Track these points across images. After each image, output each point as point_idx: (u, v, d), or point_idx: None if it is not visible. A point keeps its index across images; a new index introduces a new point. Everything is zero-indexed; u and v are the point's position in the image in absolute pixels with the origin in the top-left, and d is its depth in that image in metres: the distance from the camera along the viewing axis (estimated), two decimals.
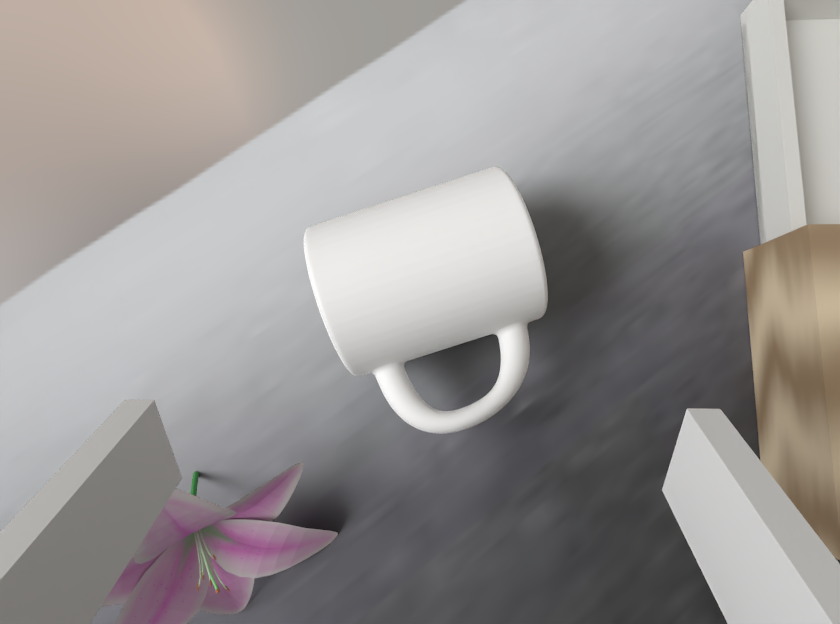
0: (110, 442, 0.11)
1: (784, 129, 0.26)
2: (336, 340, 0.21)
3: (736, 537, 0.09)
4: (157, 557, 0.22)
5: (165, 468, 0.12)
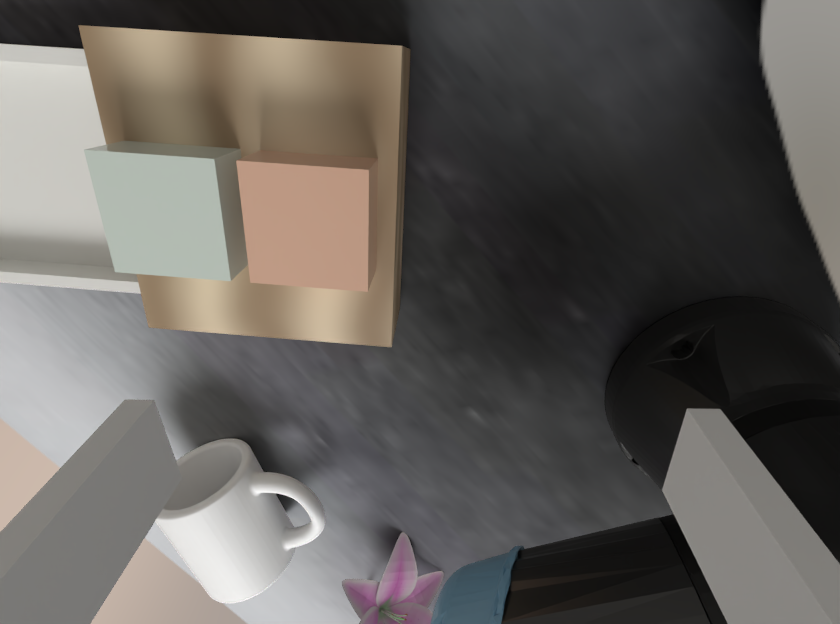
0: (110, 442, 0.11)
1: (74, 285, 0.31)
2: (263, 589, 0.37)
3: (736, 537, 0.09)
4: None
5: (166, 469, 0.12)
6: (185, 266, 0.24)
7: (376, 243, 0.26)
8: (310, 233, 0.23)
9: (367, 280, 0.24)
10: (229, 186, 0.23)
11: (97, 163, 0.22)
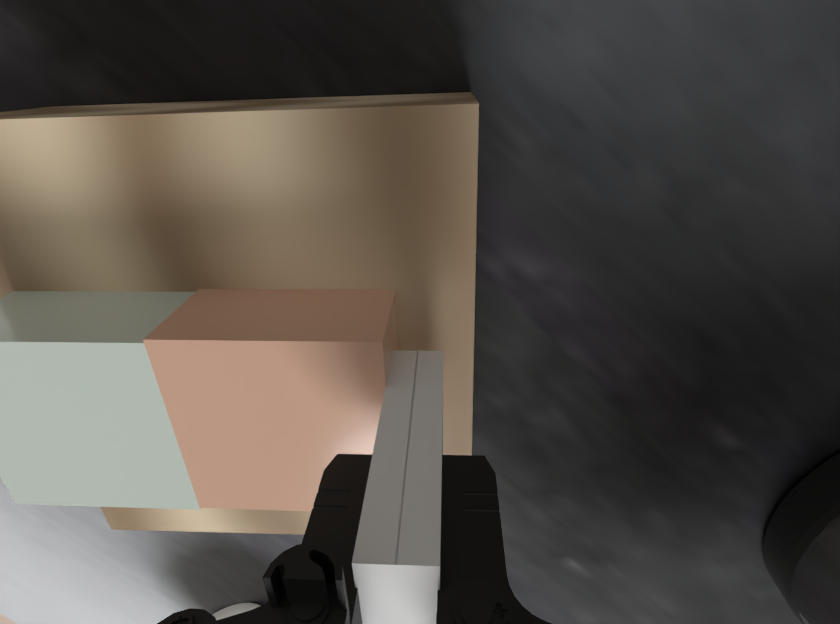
0: (409, 381, 0.12)
1: None
2: None
3: None
4: None
5: None
6: (124, 493, 0.15)
7: None
8: (288, 438, 0.13)
9: None
10: None
11: None
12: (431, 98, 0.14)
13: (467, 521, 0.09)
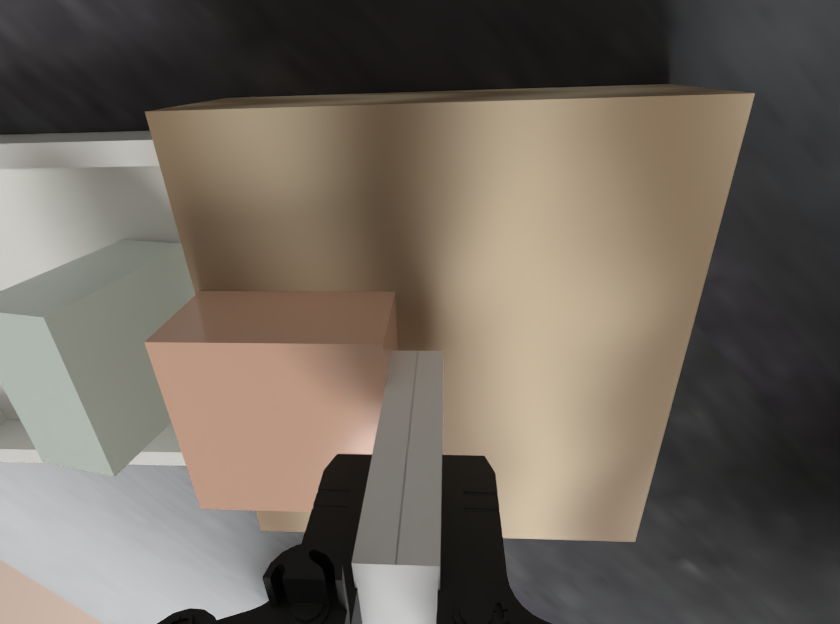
0: (409, 381, 0.12)
1: (143, 461, 0.22)
2: None
3: None
4: None
5: None
6: None
7: None
8: (289, 440, 0.13)
9: None
10: (15, 356, 0.14)
11: None
12: (661, 89, 0.13)
13: (467, 521, 0.09)
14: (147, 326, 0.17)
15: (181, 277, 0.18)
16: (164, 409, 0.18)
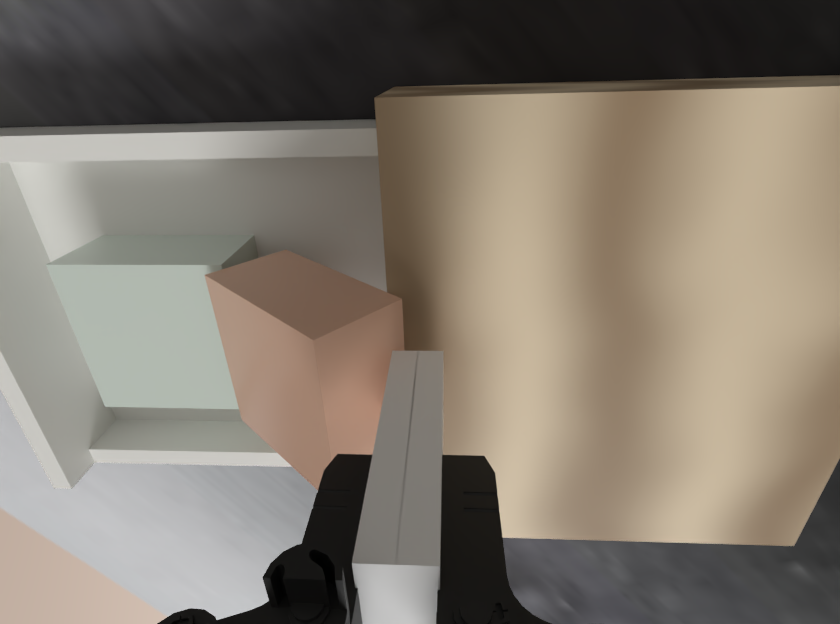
0: (409, 381, 0.12)
1: (268, 463, 0.21)
2: None
3: None
4: None
5: None
6: None
7: None
8: (274, 395, 0.15)
9: None
10: None
11: None
12: None
13: (467, 522, 0.09)
14: (153, 318, 0.17)
15: (205, 293, 0.16)
16: (165, 393, 0.18)
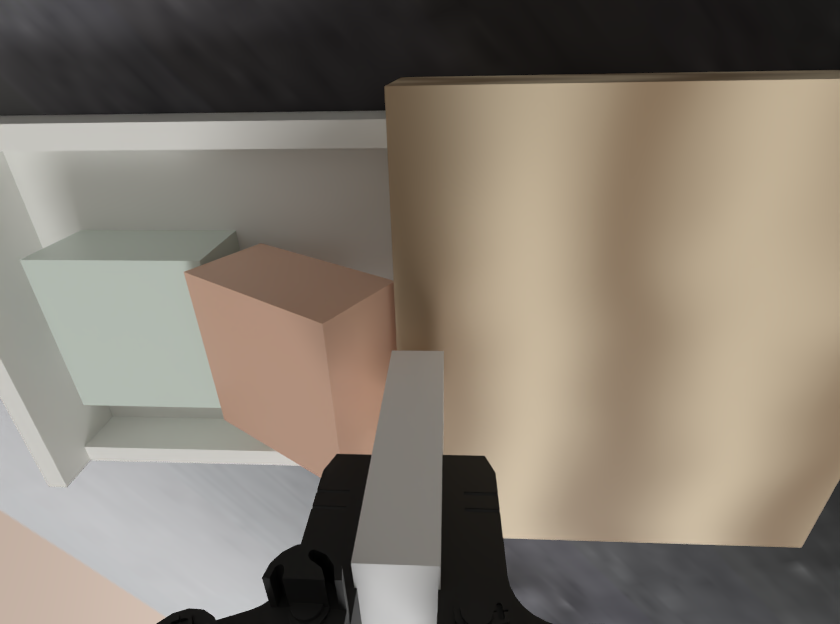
0: (408, 381, 0.12)
1: (268, 461, 0.21)
2: None
3: None
4: None
5: None
6: None
7: None
8: (269, 387, 0.15)
9: None
10: None
11: None
12: None
13: (467, 521, 0.09)
14: (131, 315, 0.16)
15: (183, 290, 0.16)
16: (145, 392, 0.18)
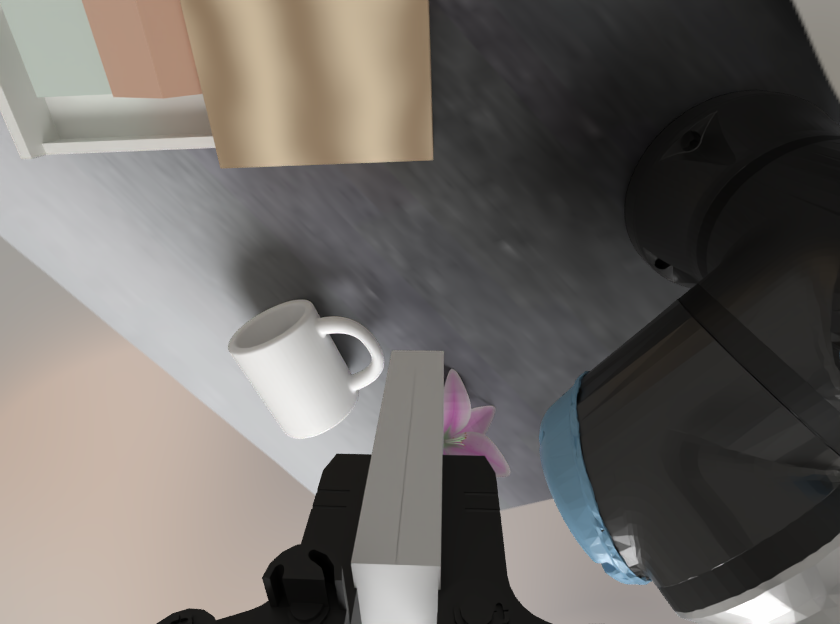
0: (408, 381, 0.12)
1: (149, 147, 0.36)
2: (336, 423, 0.42)
3: None
4: None
5: None
6: None
7: None
8: (123, 47, 0.30)
9: (160, 87, 0.29)
10: None
11: None
12: None
13: (467, 521, 0.09)
14: (56, 29, 0.31)
15: (82, 9, 0.31)
16: (70, 84, 0.33)
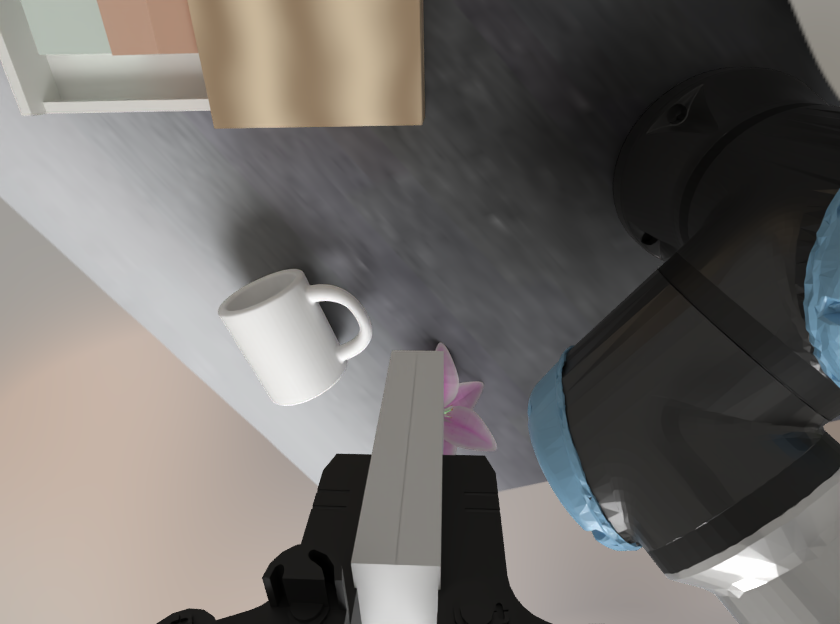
0: (408, 381, 0.12)
1: (146, 109, 0.36)
2: (323, 391, 0.43)
3: None
4: None
5: None
6: None
7: None
8: (122, 3, 0.31)
9: (156, 42, 0.30)
10: None
11: None
12: None
13: (467, 522, 0.09)
14: None
15: None
16: (71, 42, 0.34)
